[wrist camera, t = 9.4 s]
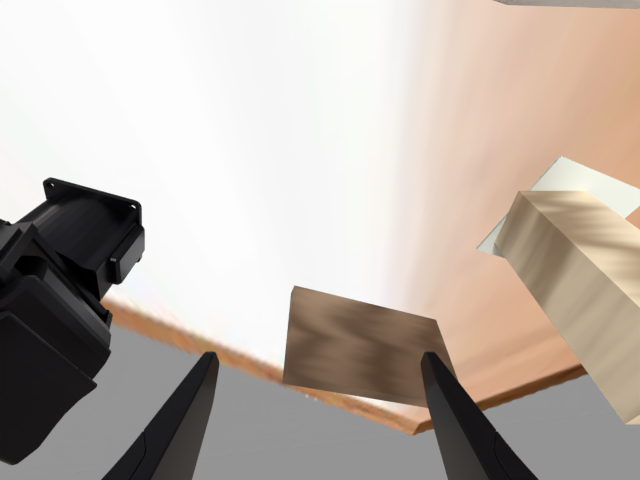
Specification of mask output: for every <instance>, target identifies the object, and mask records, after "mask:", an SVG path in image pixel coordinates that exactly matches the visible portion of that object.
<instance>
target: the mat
mask: <svg viewBox="0 0 640 480" xmlns="http://www.w3.org/2000/svg"><path fill="white" fill-rule="evenodd" d="M528 191H587V192H588V193H589V194H591V195H592V196H594V197H595V198H596V199H598V200H599V201H601V202H602V203H603V204H605V205H606V206H608V207H609V208H610V209H612V210H613V211H614V212H616V213H617V214H619V215H620V216H621V217H623V218H624V219H625V218H626V217H627V216H628V215H629V214H631V213H632V212H633V211H634V210H635V209H637V208H638V207H639V206H640V189H638V188H636V187H634V186H631V185H629V184H627V183H624V182H622V181H619V180H617V179H615V178H612V177H610V176H608V175H605V174H603V173H601V172H598V171H596V170H593V169H591V168H589V167H586V166H584V165H582V164H579V163H577V162H575V161H572V160H570V159H567V158H565V157H563V156H560V155H559V156H558V157H557V158H556V160H555V161H554V162H553V163H552V164H551V165H550V166H549V167H548V168H547V170H546V171H545V172H544V173H543V174H542V175H541V176H540V177H539V178H538V180H537V181H536V182H535V183H534V184H533V185H532V186H531V187H530V188H529V190H528ZM507 214H508V213H507ZM507 214H506V215H505V216H504V217H503V218H502V220H501V221H500V222H499V223H498V224H497V225H496V226H495V227H494V229H493V230H492V231H491V232H490V233H489V234H488V235H487V236H486V237H485V239H484V240H483V241H482V242H481V243H480V244H479V245H478V246H477V247H476V249H477V250H480V251H483V252H486V253H490V254H493V255H496V256H499V257H502V258H505V257H504V255H503V254H502V253H501V251H500V250H499V248H498V247H497V246H496V244H495V243H494V242H495V240H496V238H497V236H498V234H499V232H500V229H501V227H502V225H503V223H504V221H505V219H506V216H507Z"/></svg>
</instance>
